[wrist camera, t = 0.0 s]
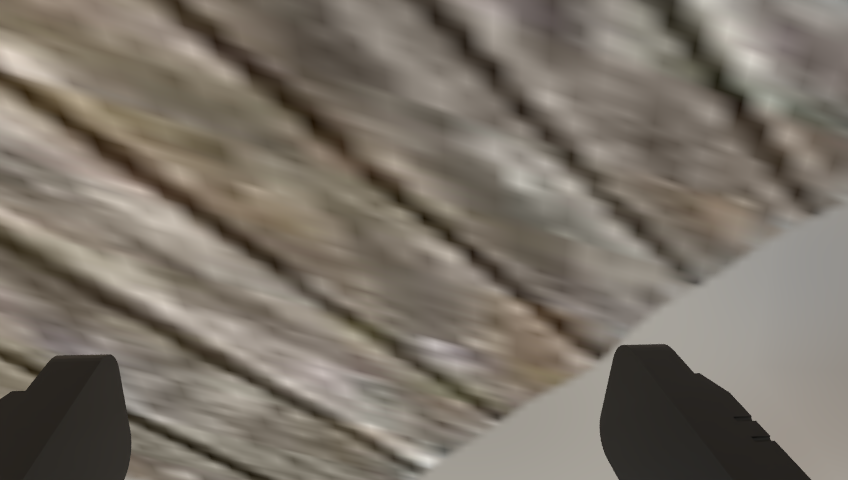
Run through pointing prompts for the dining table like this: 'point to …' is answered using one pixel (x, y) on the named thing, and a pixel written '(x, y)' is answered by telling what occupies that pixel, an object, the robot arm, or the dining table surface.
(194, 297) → the dining table surface
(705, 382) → the robot arm
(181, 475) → the dining table surface
